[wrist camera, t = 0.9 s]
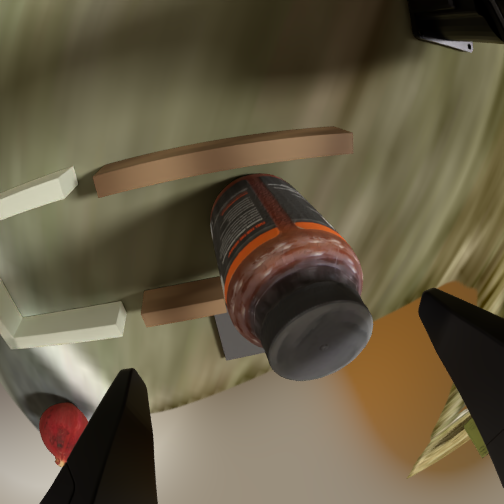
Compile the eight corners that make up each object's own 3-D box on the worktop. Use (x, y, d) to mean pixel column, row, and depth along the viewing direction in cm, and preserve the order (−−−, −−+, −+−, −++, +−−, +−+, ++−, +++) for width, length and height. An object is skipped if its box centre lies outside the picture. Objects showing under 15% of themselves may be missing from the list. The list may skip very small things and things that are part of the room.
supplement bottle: (199, 248, 20) (218, 398, 10) (221, 160, 17) (268, 263, 8) (283, 261, 22) (351, 392, 12) (312, 182, 19) (423, 285, 10)
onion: (45, 381, 24) (30, 447, 17) (96, 398, 26) (89, 465, 19) (47, 406, 26) (36, 464, 19) (92, 420, 28) (87, 479, 21)
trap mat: (327, 281, 23) (329, 284, 23) (324, 333, 27) (326, 336, 26) (212, 306, 23) (212, 309, 22) (225, 357, 26) (226, 360, 25)
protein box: (462, 426, 71) (481, 459, 58) (489, 399, 64) (511, 433, 51) (478, 417, 74) (496, 447, 60) (503, 390, 66) (525, 421, 53)
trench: (333, 126, 17) (352, 133, 15) (333, 266, 23) (347, 285, 21) (104, 165, 16) (92, 176, 14) (149, 303, 21) (146, 327, 19)
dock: (73, 166, 16) (58, 177, 13) (126, 313, 21) (122, 336, 19) (-39, 211, 14) (-57, 226, 12) (20, 329, 20) (11, 349, 18)
